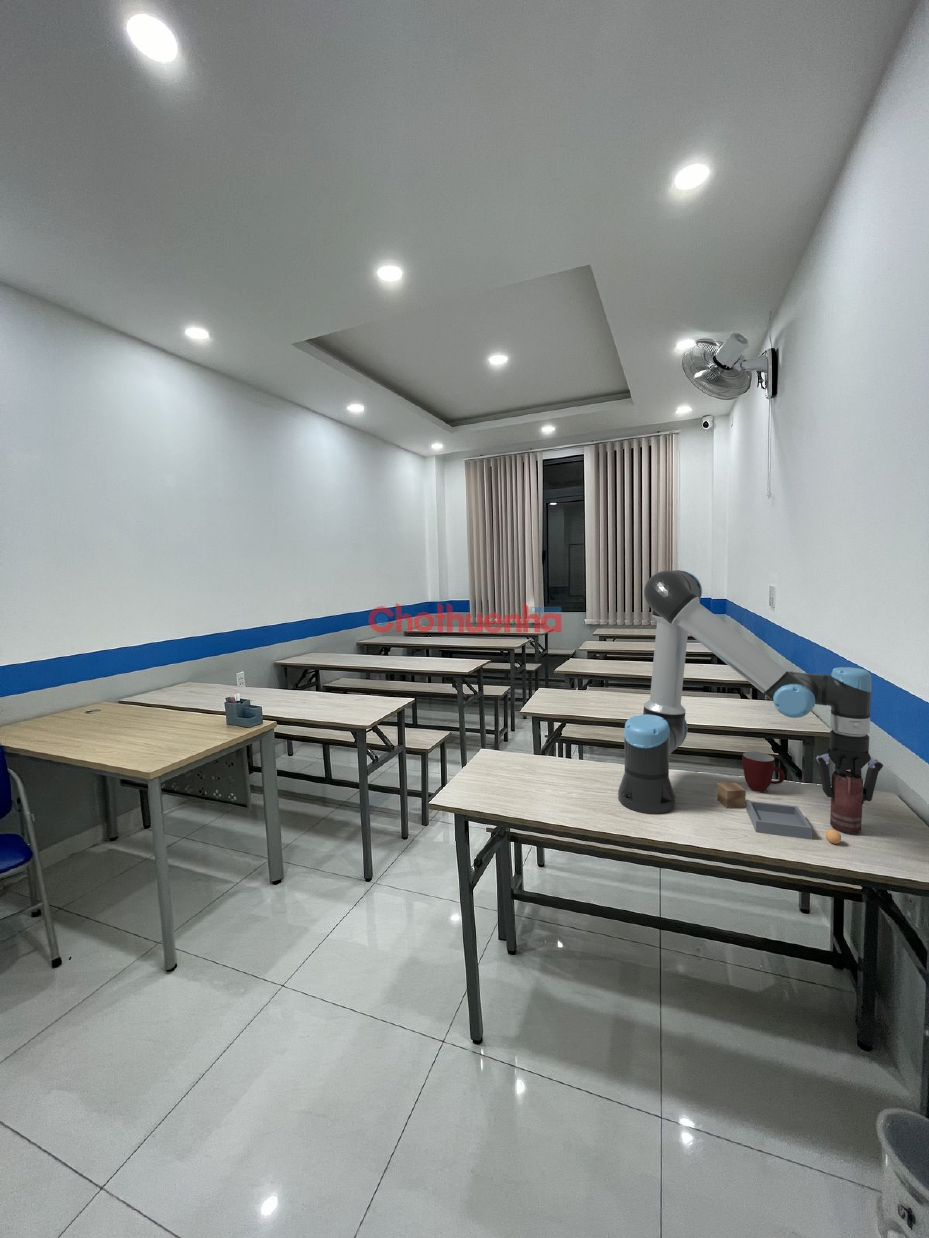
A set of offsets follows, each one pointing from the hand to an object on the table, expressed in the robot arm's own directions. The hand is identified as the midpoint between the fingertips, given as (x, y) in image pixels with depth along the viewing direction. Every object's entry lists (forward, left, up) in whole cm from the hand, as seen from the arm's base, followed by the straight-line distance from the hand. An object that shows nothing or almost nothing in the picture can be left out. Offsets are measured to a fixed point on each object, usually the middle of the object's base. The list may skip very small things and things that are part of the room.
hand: (845, 825), depth 120 cm
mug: (-14, +19, -1) cm, 24 cm away
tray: (-15, -2, -1) cm, 15 cm away
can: (0, 0, -1) cm, 1 cm away
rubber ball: (-5, -8, +1) cm, 9 cm away
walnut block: (-24, +7, -1) cm, 25 cm away
